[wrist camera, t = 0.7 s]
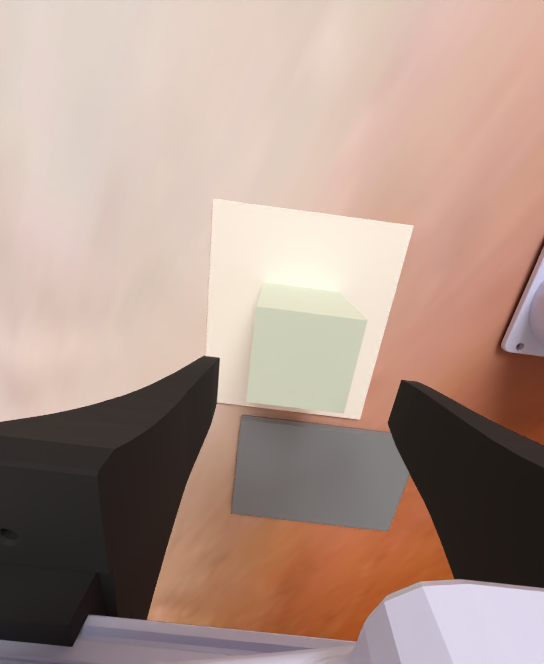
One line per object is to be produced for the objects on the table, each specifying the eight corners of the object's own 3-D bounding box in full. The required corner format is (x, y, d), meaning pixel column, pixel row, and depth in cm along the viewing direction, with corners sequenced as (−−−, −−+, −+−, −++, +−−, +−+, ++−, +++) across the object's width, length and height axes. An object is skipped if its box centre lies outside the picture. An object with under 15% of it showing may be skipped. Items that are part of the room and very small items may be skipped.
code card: (412, 225, 17) (414, 225, 17) (359, 418, 22) (359, 419, 22) (213, 199, 17) (212, 198, 17) (204, 399, 22) (203, 401, 21)
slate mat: (418, 436, 22) (422, 441, 22) (385, 524, 26) (387, 531, 25) (242, 414, 22) (241, 419, 21) (232, 507, 25) (231, 513, 25)
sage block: (340, 292, 18) (367, 320, 13) (325, 361, 20) (343, 413, 14) (263, 282, 18) (256, 306, 12) (255, 352, 20) (245, 401, 14)
